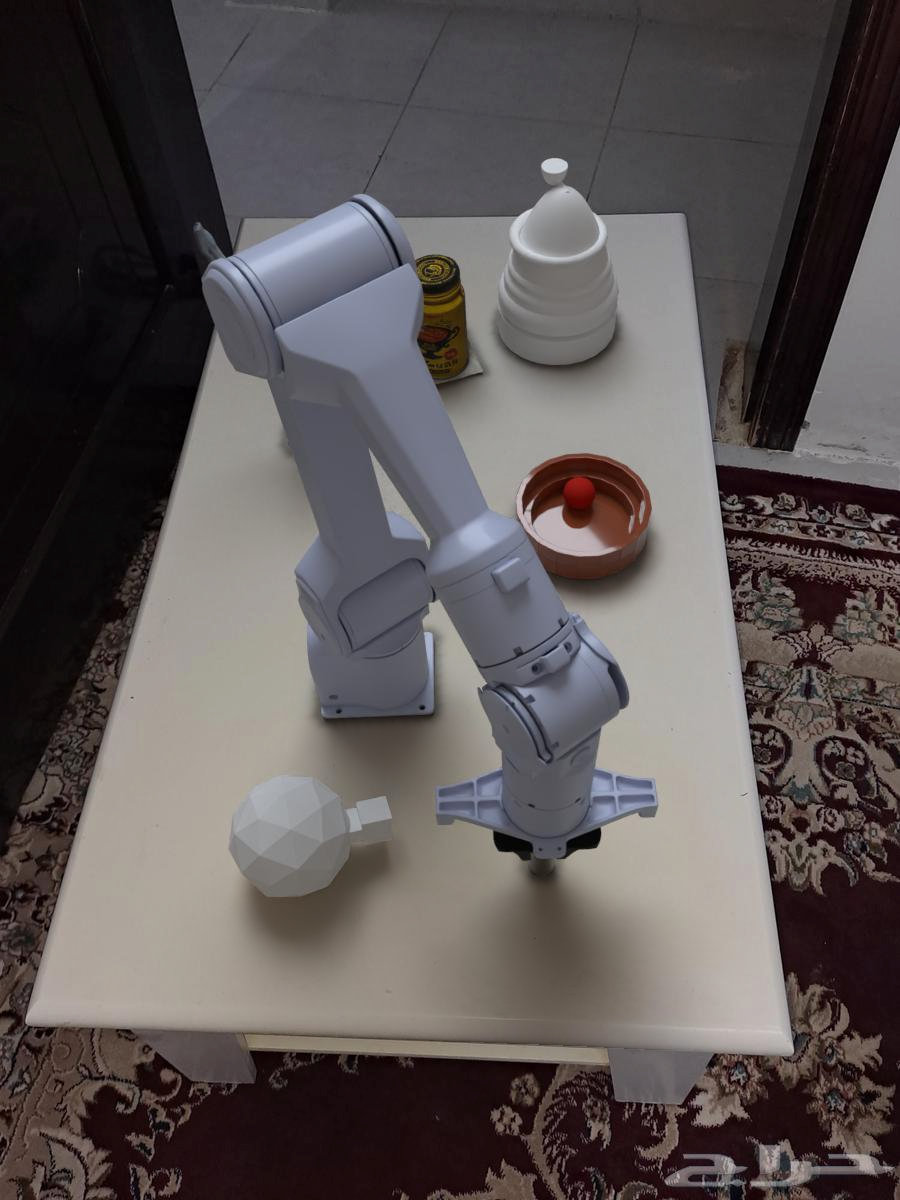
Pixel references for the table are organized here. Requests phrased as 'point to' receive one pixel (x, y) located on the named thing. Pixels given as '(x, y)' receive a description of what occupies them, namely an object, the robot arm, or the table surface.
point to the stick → (540, 864)
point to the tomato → (579, 493)
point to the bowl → (584, 516)
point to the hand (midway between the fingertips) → (542, 846)
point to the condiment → (444, 321)
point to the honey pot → (558, 278)
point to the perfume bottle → (300, 834)
